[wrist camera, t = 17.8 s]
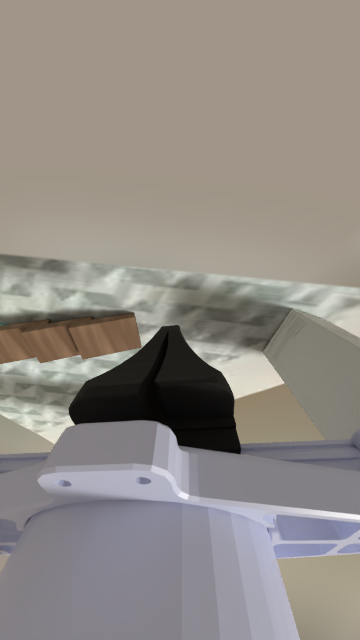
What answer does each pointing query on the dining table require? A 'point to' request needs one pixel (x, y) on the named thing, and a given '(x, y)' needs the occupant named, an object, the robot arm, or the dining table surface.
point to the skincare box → (320, 371)
